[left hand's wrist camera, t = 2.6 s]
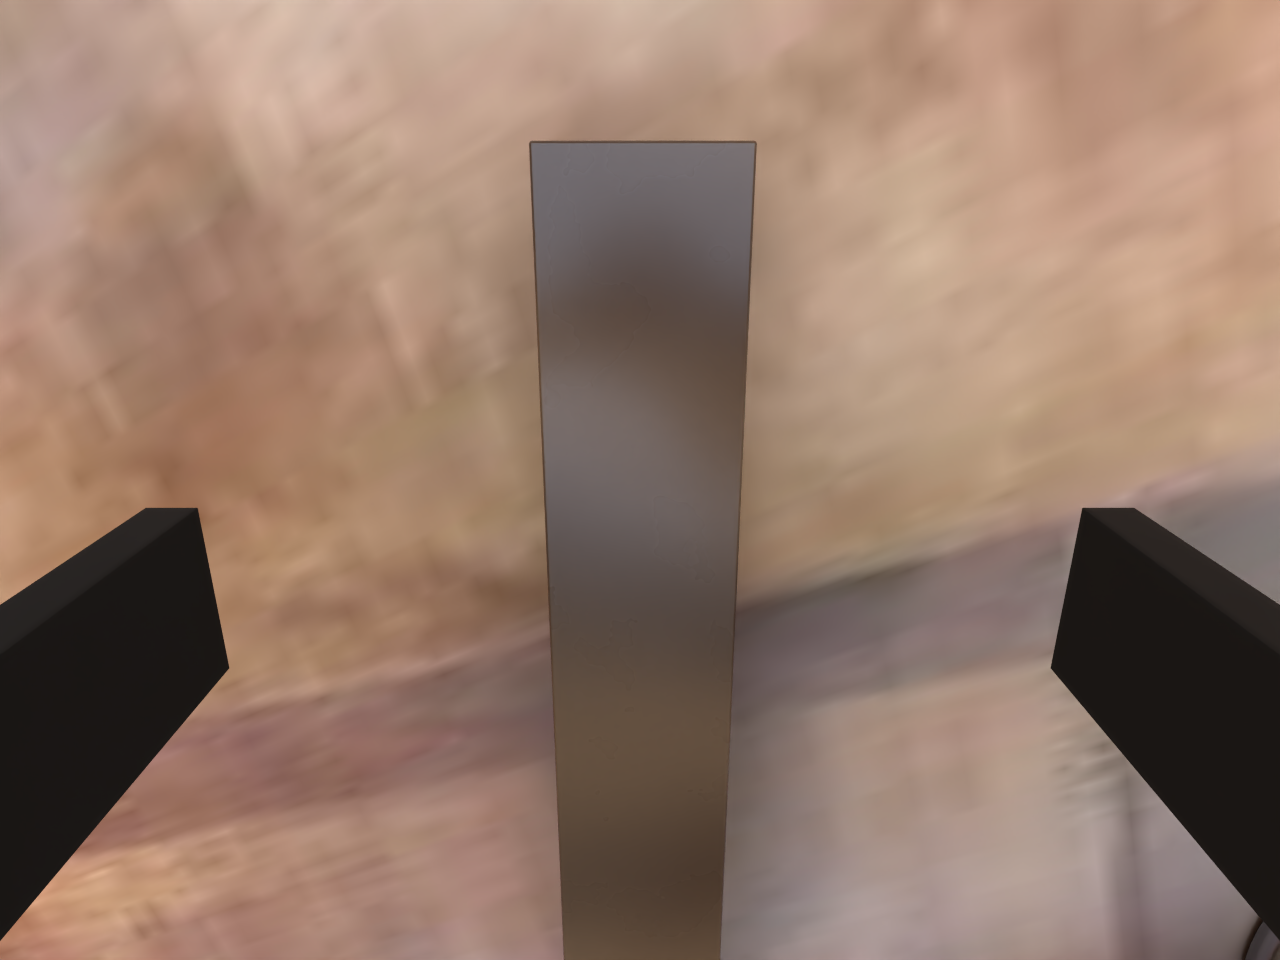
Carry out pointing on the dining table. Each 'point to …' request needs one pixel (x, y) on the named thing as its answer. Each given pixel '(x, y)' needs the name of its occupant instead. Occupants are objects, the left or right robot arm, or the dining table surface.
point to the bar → (642, 524)
